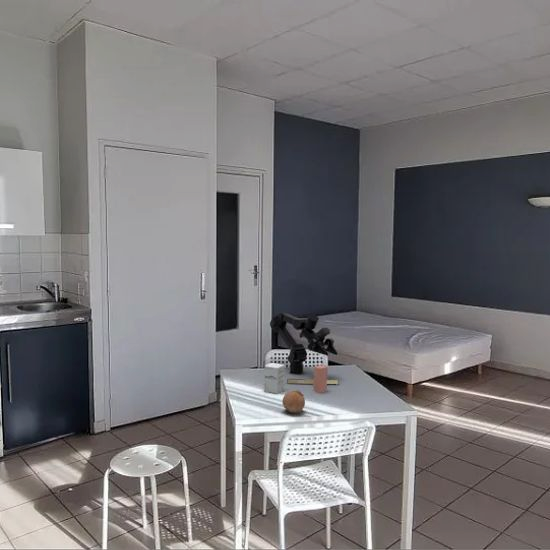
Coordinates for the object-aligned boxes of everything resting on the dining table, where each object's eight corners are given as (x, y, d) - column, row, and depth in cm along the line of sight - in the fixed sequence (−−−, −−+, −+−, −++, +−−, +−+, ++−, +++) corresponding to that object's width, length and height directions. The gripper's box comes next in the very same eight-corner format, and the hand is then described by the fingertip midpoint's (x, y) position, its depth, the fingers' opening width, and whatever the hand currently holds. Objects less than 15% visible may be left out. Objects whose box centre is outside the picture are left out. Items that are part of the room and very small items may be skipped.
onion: (298, 416, 221) (307, 394, 223) (300, 418, 212) (309, 395, 214) (278, 407, 221) (287, 385, 223) (279, 409, 212) (288, 386, 214)
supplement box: (263, 391, 244) (264, 365, 243) (270, 387, 251) (271, 362, 250) (277, 394, 241) (277, 367, 240) (284, 390, 247) (284, 364, 246)
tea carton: (313, 391, 247) (313, 366, 246) (321, 389, 250) (322, 365, 249) (318, 393, 244) (319, 368, 243) (326, 391, 247) (327, 367, 246)
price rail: (286, 382, 260) (287, 378, 260) (338, 383, 260) (338, 379, 260) (287, 384, 258) (287, 379, 257) (338, 385, 258) (339, 380, 257)
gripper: (309, 323, 258) (331, 341, 249) (328, 323, 273) (349, 341, 264) (298, 340, 261) (319, 360, 252) (317, 340, 275) (338, 358, 267)
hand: (332, 354), depth 259 cm, fingers open, 9 cm apart
